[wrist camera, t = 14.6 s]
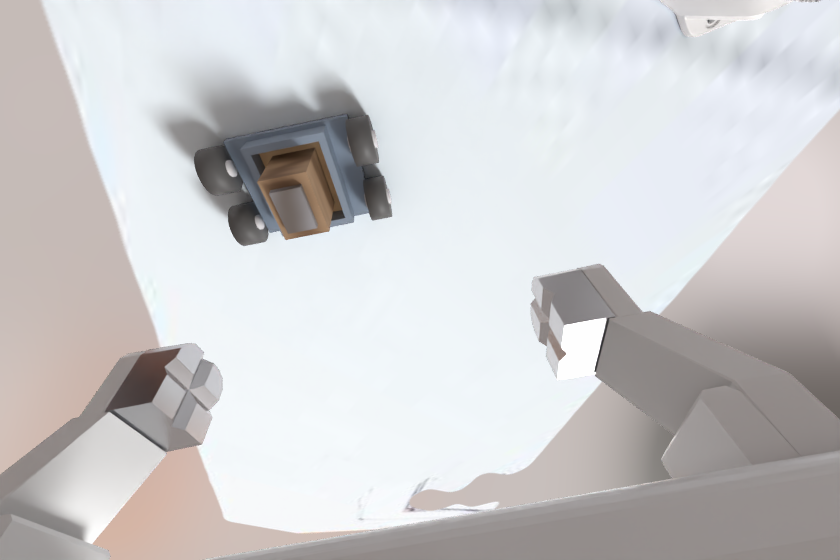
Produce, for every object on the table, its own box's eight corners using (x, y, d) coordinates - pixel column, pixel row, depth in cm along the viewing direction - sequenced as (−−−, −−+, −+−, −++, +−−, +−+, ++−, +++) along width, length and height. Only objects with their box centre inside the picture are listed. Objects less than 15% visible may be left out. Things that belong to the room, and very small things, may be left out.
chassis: (370, 108, 40) (370, 121, 36) (393, 204, 47) (395, 223, 44) (202, 143, 40) (184, 160, 37) (252, 232, 48) (241, 254, 44)
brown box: (315, 147, 41) (304, 175, 35) (334, 202, 45) (328, 235, 39) (272, 156, 41) (255, 185, 35) (296, 209, 45) (284, 243, 39)
